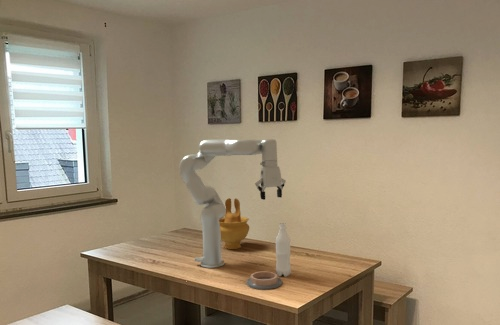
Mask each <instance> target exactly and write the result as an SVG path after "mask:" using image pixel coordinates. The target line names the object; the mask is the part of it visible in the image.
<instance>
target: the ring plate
mask: <svg viewBox="0 0 500 325" xmlns="http://www.w3.org/2000/svg"><path fill="white" fill-rule="evenodd" d="M282 284H283V280H282V278H280V277H279V276H278V274H277V272H272V271H266V270H263V271H262V270H261V271H256V272H253V273H252V274H250V277H249V278H248V279H246V285H247V287H249V288H251V289H255V290H260V291H261V290H262V291H263V290H264V291H265V290H274V289H277V288H279V287H281V286H282Z"/></svg>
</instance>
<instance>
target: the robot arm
mask: <svg viewBox="0 0 500 325" xmlns="http://www.w3.org/2000/svg"><path fill="white" fill-rule="evenodd" d="M198 150H199V151H198V152H197V153H196V154H195V153H192V154H188V155H185V156H184V157H183V158H182V159H181V160H180V162H179V164H178V166H179V167H178V171H179V175H180V177H181V179H182V181H183V182H184V184H185V186H186V188H187V191H189V194H190V195H191V197H192V199H193V201H194V203H195V204H197V205H198V206H203V205H205V207H203V208H202V210H201V212H200V222H201V230H202V256H200V257H194V262H197V263H200V266H201V267H202V268H206V269H207V268H208V269H215V268H221V267H222V266H224V265H225V260H223V259H222V240H221V230H220V224H219V220H221V219H222V218H223V217H225V214H226V206H225V204H224V202H223V201H222V199H221V197H220V195H219V194H218V192H217V190H216V188H214V187H213V186H211V185H205V183H204V182H203V180H202V178H201V177H200V175H198V173H197V172H196V171H197V170H198V171H199V170H202V169H204V168H206V166H208V165H209V163H211V162H212V161H213V160H214V159H215V158H216V157H217V156H218V157H219V156H222V157H223V156H224V157H225V156H227V157H231V156H254V155H255V156H256V155H261V162H260V166H261V169H260V178H259V180H258V181H256V182H255V183H254V184H255V187H256V188H257V190H258V191H259V194H260V199H261V200H263V201H264V200H266V191H265V190H266V188H277V189H276V196H277V198H282V196H283V188H284V187H285V184H286V183H287V182H286V179H284V178H282V174H281V169H280V166H279V165H278V148H277V141H276V139H269V138H268V139H263V140H261V139H229V138H227V139H226V138H223V139H222V138H221V139H217V138H215V139H204V140H202V141H200V143H199V144H198Z"/></svg>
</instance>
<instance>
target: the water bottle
mask: <svg viewBox="0 0 500 325" xmlns="http://www.w3.org/2000/svg"><path fill="white" fill-rule="evenodd" d="M286 225H287V224H286V223H285V222H281V223H279V227H278V229H279V231H278V233H277V235H276V238H275V256H276V263H275V264H276V265H275V271H276V272H275V273H276V274H277V276H278V277H283V276H284V278H286V277H287V278H288V277H289V276H290V275H291V272H292V271H291V270H292V266H291V251H292V250H291V238H290V236H289V234H288V231H287V226H286Z"/></svg>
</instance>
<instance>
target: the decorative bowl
mask: <svg viewBox="0 0 500 325" xmlns="http://www.w3.org/2000/svg"><path fill="white" fill-rule="evenodd" d="M224 201H225V202H224V203H225V204H224V206H225V209H226V214H225V216H224V217H223V218H222V219H221V220H219V224H220V230H221V241H223V242H224V243H225V245H224V246H223V247H225V248H224V249H227V248H228V249H227V250H229V249H230V250H236V249H240V248H242V245H241V241H243V240H244V239H246V238H247V236H248V234H249V231H250V225H249V224H248V223H247V222H248V221H249V220H250V219H249V218H248V217H245V216H241V203H240V200H239V199H238V198H234V199H233V205H234V209H235V211H234V212H232V199H231V198H229V197H228V198H227V199H226V200H224Z"/></svg>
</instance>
